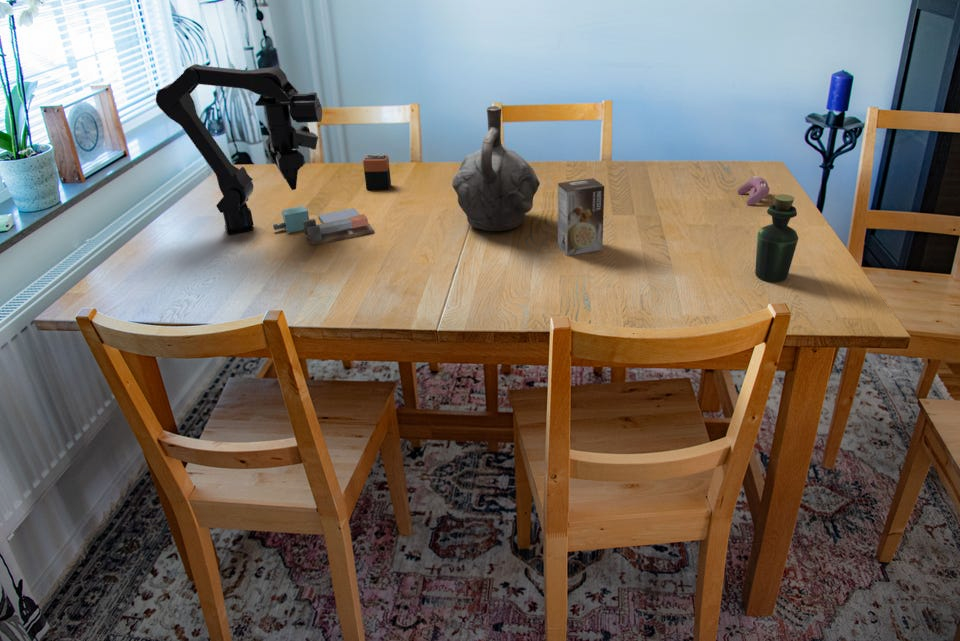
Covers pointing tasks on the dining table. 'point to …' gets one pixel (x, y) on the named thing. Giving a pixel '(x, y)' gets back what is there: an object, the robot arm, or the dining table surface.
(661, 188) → the dining table surface
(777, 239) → the potion bottle
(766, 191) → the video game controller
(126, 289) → the dining table surface
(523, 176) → the vessel
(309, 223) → the base
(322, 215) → the mat
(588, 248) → the coffee box
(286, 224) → the plug
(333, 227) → the cutter lever
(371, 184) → the battery
